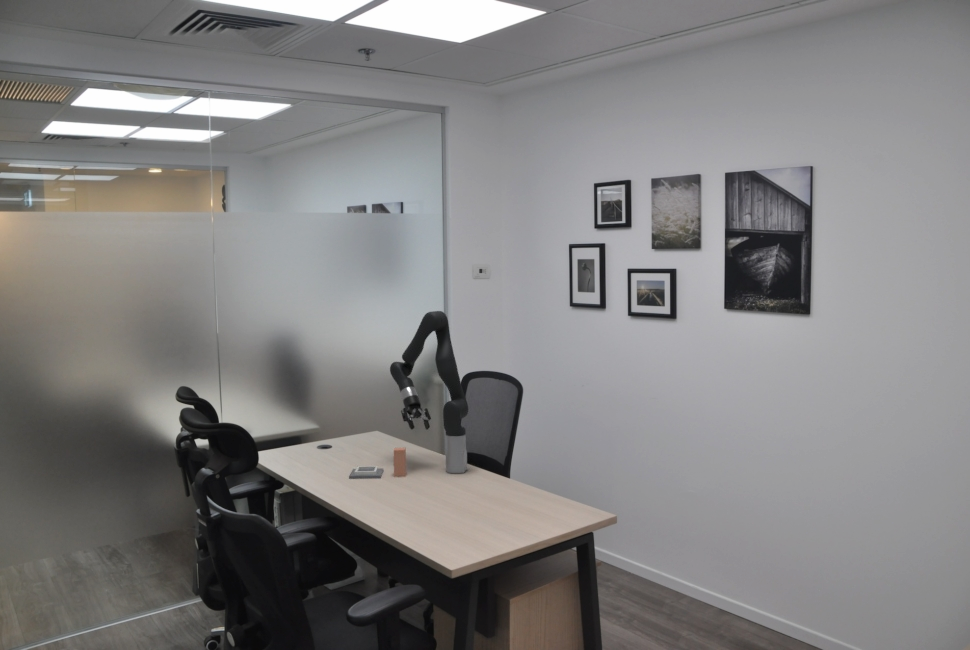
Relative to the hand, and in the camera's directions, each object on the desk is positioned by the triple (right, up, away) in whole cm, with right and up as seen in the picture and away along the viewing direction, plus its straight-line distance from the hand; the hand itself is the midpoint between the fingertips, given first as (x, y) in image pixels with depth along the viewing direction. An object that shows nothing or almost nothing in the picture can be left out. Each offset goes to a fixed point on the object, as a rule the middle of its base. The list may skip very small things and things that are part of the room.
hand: (420, 428), depth 333 cm
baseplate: (-24, -20, -3) cm, 32 cm away
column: (-9, -20, -4) cm, 23 cm away
